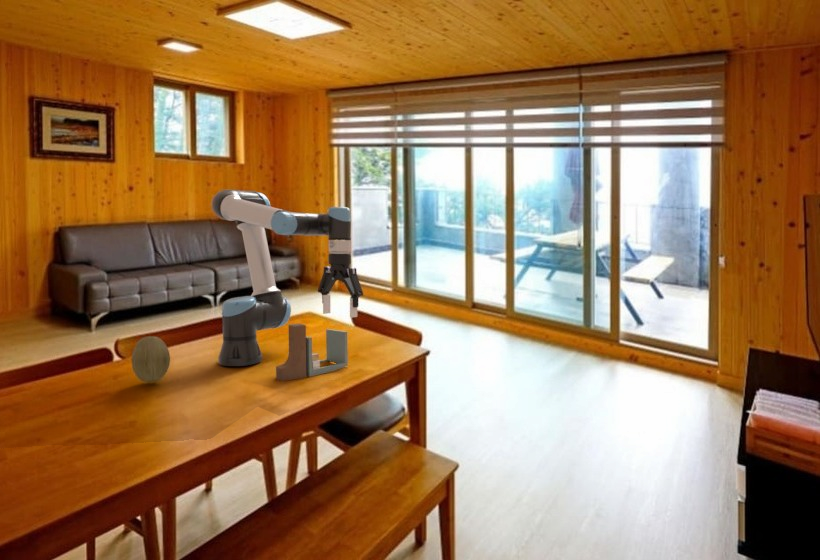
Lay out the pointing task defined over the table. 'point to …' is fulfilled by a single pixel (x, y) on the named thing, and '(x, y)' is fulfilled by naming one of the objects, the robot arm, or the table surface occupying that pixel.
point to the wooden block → (294, 355)
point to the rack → (329, 352)
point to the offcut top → (315, 357)
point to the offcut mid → (315, 364)
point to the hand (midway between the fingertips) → (339, 315)
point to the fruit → (150, 359)
